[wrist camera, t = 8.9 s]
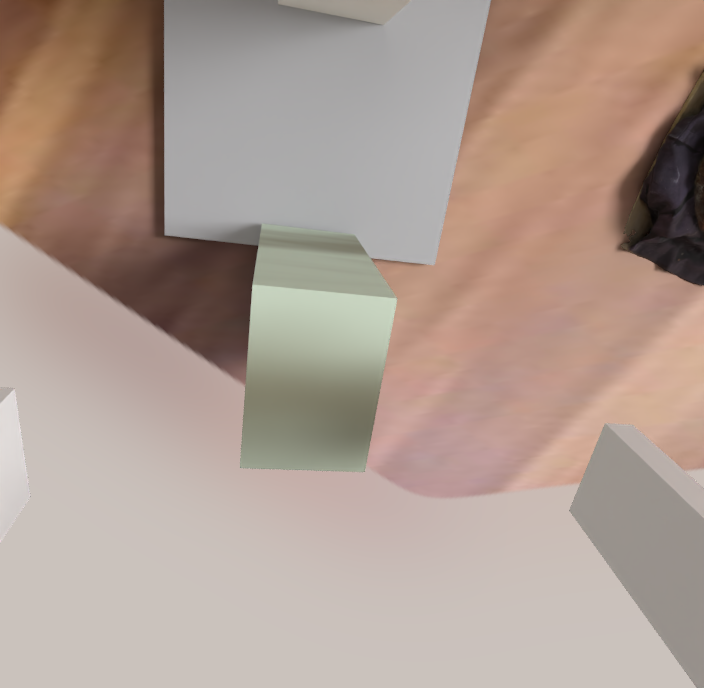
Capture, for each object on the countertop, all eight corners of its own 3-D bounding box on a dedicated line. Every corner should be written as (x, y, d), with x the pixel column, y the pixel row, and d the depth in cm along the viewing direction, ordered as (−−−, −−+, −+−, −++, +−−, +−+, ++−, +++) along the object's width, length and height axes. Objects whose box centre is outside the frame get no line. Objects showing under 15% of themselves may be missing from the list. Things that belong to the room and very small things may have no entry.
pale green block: (262, 223, 21) (252, 284, 13) (354, 234, 22) (397, 298, 14) (252, 351, 24) (239, 468, 16) (336, 357, 24) (364, 472, 16)
